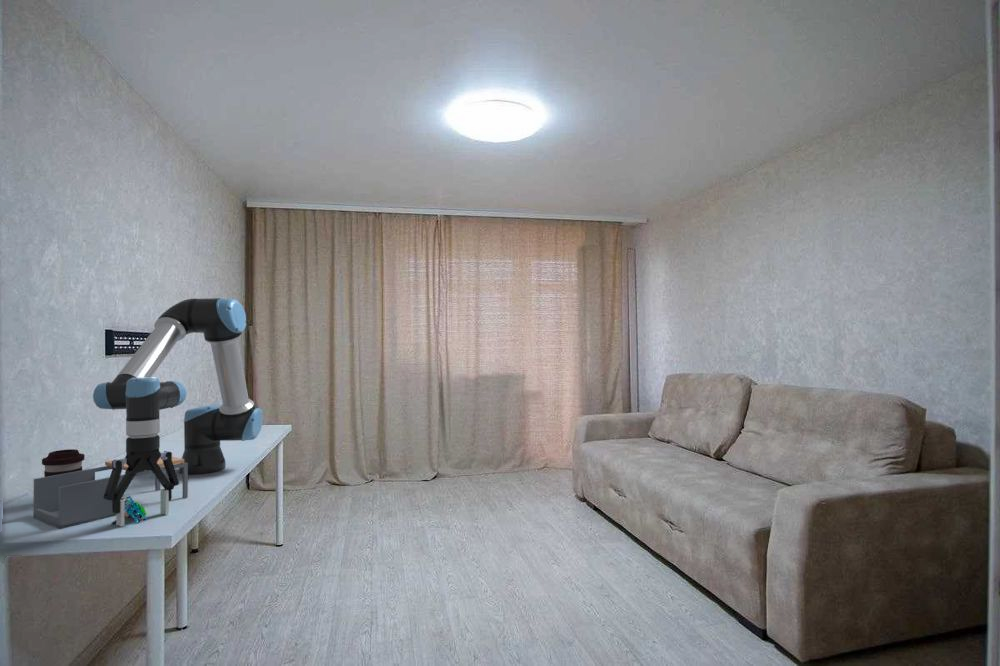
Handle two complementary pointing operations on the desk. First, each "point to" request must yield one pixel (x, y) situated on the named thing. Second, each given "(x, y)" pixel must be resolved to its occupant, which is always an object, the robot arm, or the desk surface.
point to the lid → (159, 462)
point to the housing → (80, 496)
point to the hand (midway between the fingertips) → (143, 519)
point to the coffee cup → (62, 462)
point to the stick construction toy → (133, 510)
